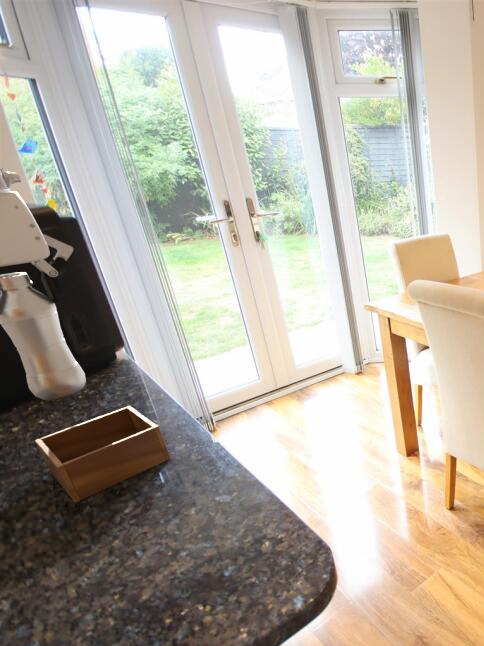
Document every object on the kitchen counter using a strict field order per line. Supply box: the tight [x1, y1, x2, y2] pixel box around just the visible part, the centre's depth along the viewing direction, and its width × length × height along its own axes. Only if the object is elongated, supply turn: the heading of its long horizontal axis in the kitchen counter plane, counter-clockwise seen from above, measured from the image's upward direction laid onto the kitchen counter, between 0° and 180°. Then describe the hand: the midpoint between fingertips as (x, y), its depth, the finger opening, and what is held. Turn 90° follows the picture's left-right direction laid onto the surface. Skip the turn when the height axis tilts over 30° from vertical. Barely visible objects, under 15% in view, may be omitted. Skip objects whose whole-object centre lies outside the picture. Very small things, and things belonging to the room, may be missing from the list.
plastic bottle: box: [0, 271, 87, 401], centre depth 71 cm, size 6×7×20 cm
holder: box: [34, 405, 172, 504], centre depth 70 cm, size 12×12×6 cm
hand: (24, 307), depth 70 cm, fingers closed on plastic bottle, 6 cm apart
